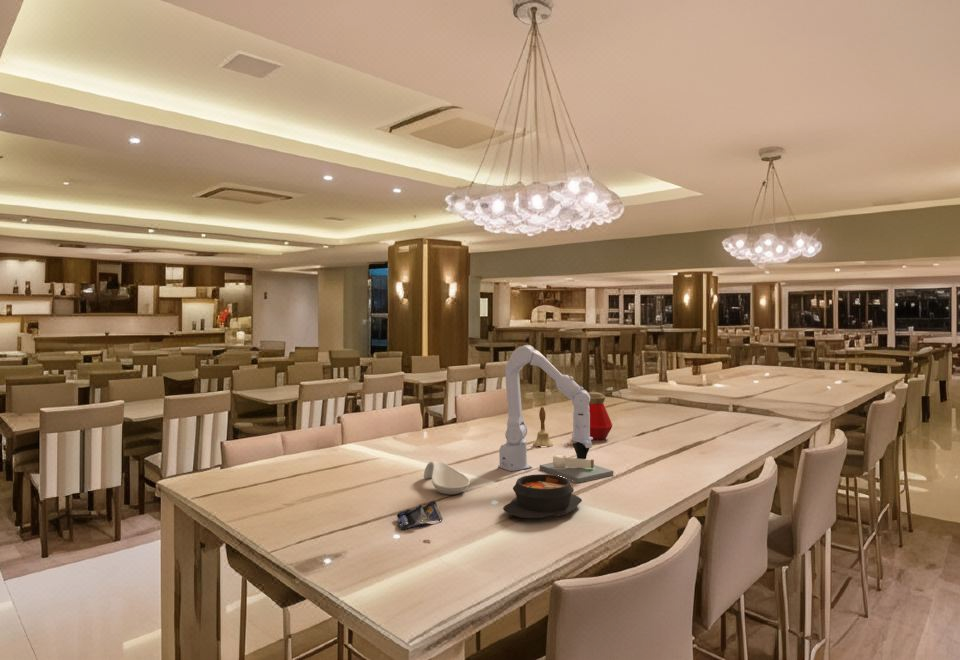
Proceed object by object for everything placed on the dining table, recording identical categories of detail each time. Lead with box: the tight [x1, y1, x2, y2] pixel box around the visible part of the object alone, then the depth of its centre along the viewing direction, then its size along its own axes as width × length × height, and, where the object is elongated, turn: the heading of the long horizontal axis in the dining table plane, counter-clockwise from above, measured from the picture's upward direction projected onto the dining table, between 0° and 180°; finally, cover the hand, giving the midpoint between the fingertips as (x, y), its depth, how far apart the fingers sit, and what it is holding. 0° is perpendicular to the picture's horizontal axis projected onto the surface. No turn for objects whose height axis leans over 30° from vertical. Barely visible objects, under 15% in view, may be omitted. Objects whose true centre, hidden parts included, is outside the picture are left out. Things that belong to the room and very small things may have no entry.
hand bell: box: [532, 406, 554, 447], centre depth 243 cm, size 8×8×16 cm
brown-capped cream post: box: [552, 454, 595, 468], centre depth 201 cm, size 14×4×3 cm, turn 74°
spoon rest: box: [423, 460, 471, 496], centre depth 185 cm, size 24×12×7 cm, turn 28°
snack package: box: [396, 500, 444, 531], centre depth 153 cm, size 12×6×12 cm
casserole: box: [502, 473, 583, 520], centre depth 162 cm, size 25×19×8 cm
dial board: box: [539, 462, 614, 484], centre depth 201 cm, size 16×20×2 cm
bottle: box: [588, 391, 613, 441], centre depth 255 cm, size 16×14×20 cm
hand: (581, 463), depth 202 cm, fingers closed
